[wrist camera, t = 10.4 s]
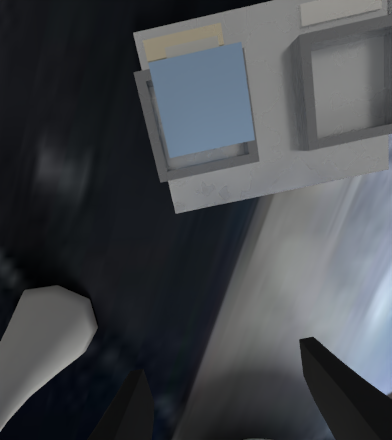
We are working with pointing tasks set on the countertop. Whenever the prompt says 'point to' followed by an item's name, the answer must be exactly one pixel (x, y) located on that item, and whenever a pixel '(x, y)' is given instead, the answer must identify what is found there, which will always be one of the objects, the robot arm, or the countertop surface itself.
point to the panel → (285, 98)
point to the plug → (202, 96)
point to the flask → (41, 342)
